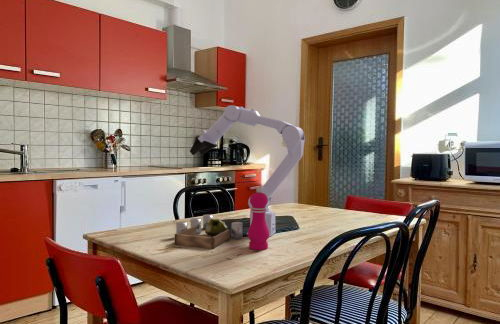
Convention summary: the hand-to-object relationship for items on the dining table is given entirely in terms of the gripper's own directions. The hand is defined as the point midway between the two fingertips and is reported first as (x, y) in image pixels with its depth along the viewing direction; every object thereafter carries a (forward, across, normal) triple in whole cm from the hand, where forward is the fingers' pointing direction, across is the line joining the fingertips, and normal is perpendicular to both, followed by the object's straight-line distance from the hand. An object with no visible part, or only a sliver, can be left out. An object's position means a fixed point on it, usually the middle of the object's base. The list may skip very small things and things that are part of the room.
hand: (196, 153), depth 155 cm
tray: (+12, +18, +31) cm, 38 cm away
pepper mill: (-3, +19, +45) cm, 49 cm away
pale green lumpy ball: (+11, +10, +31) cm, 35 cm away
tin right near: (+18, +8, +25) cm, 32 cm away
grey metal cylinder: (+17, 0, +26) cm, 31 cm away
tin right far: (+19, +16, +24) cm, 35 cm away
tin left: (+5, +9, +37) cm, 39 cm away
